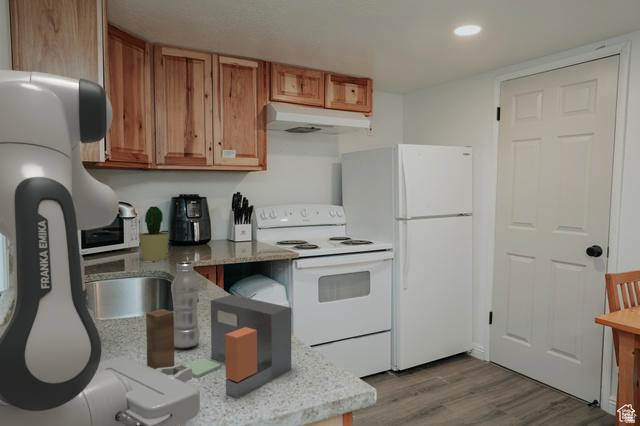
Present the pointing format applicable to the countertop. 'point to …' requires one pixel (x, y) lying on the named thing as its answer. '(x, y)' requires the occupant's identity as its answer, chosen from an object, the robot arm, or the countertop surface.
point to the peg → (160, 338)
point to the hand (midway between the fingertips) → (186, 370)
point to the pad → (202, 367)
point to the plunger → (241, 353)
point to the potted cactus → (154, 237)
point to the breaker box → (270, 338)
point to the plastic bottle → (185, 306)
